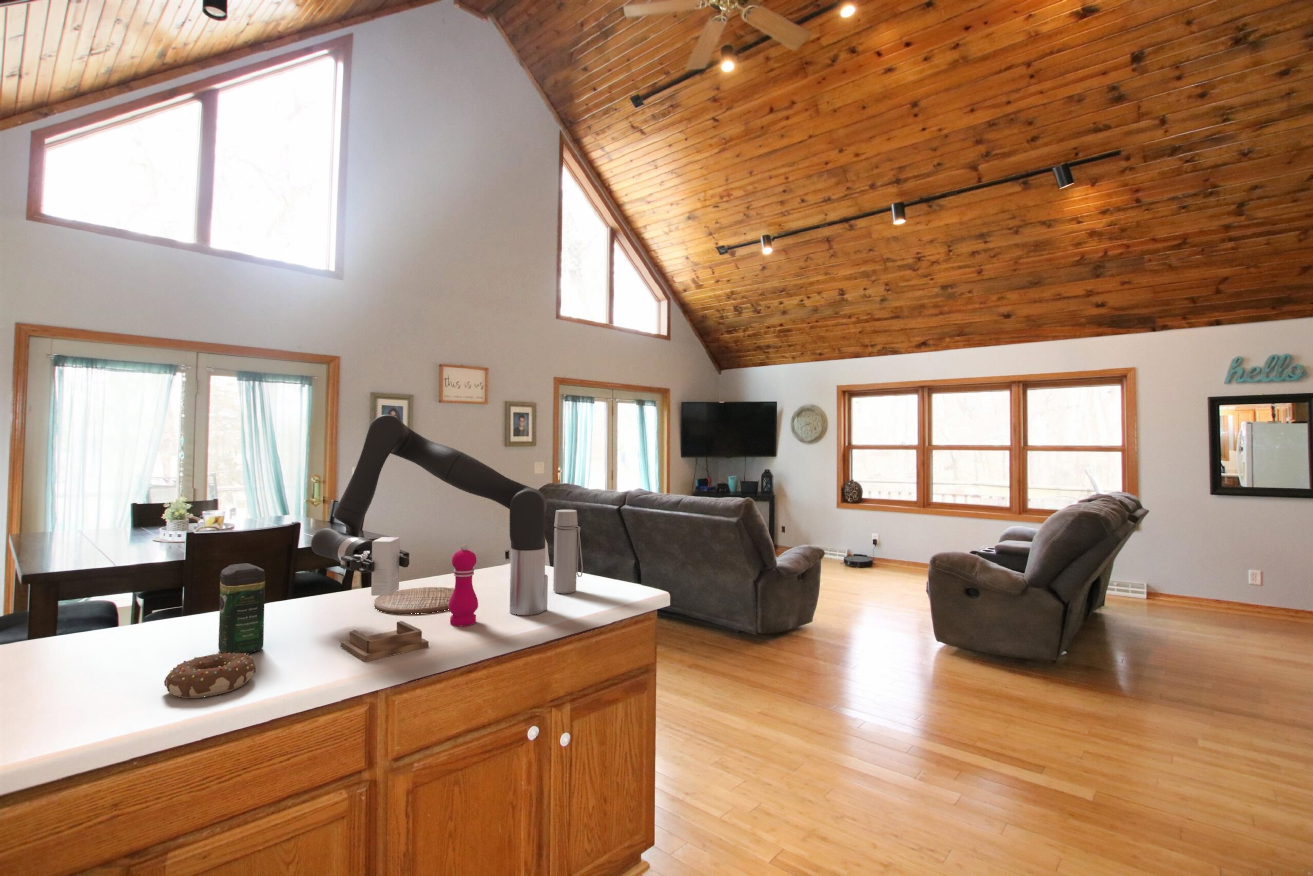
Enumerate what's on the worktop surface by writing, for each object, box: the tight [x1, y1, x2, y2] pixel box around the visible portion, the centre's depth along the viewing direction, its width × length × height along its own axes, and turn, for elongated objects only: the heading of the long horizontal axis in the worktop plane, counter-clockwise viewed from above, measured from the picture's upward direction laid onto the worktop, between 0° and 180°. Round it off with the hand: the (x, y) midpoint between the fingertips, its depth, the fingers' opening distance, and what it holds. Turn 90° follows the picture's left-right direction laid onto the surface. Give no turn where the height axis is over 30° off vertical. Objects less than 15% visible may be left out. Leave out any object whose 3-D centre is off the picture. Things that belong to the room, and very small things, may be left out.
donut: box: [163, 653, 257, 699], centre depth 117 cm, size 14×14×5 cm
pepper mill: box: [448, 543, 479, 627], centre depth 160 cm, size 7×7×20 cm
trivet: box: [373, 586, 455, 615], centre depth 179 cm, size 25×25×2 cm
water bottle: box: [552, 509, 584, 595], centre depth 195 cm, size 9×8×25 cm
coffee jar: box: [217, 562, 266, 655], centre depth 137 cm, size 10×8×19 cm
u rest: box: [340, 620, 429, 663], centre depth 141 cm, size 14×13×4 cm
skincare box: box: [370, 536, 401, 597], centre depth 141 cm, size 6×4×12 cm
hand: (390, 564), depth 139 cm, fingers closed on skincare box, 7 cm apart
